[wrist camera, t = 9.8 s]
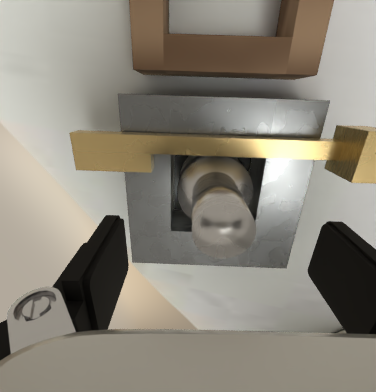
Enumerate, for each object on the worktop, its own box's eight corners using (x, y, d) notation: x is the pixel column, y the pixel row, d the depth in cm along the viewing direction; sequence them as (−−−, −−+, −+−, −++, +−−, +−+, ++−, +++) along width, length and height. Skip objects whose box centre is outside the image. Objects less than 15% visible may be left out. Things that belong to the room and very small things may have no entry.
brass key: (350, 174, 16) (382, 189, 14) (84, 165, 16) (62, 178, 14) (366, 126, 15) (406, 132, 12) (76, 116, 15) (50, 120, 12)
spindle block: (272, 242, 24) (286, 268, 20) (141, 237, 24) (132, 262, 20) (302, 100, 18) (330, 100, 15) (132, 95, 18) (117, 93, 15)
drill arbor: (239, 207, 22) (268, 276, 14) (179, 205, 22) (170, 272, 14) (247, 147, 20) (288, 184, 11) (180, 145, 20) (170, 180, 11)
